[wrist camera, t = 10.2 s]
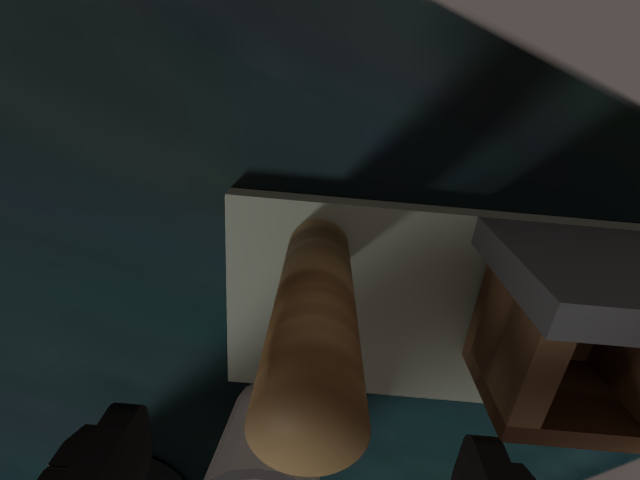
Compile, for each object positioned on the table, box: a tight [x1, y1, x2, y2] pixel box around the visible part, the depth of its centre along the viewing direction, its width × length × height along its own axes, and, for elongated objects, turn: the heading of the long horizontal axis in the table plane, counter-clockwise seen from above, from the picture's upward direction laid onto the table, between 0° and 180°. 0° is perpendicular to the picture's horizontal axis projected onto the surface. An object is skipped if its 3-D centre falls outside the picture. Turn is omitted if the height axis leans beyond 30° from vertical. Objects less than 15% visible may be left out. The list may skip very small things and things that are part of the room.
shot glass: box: [204, 384, 319, 480], centre depth 25 cm, size 7×7×7 cm
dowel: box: [244, 219, 371, 477], centre depth 16 cm, size 3×3×12 cm
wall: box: [471, 217, 640, 348], centre depth 17 cm, size 2×10×8 cm, turn 85°
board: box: [225, 188, 640, 403], centre depth 23 cm, size 12×23×1 cm, turn 85°
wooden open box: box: [461, 264, 640, 454], centre depth 19 cm, size 7×8×6 cm
